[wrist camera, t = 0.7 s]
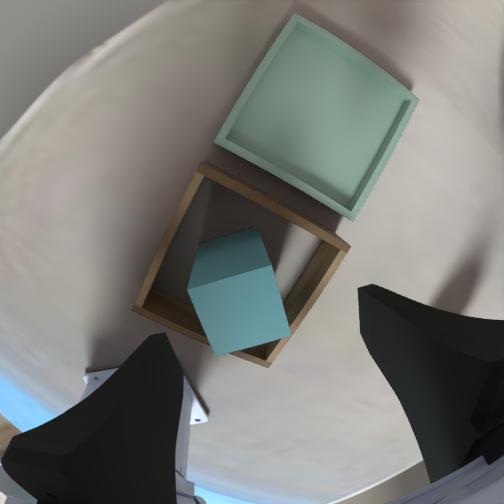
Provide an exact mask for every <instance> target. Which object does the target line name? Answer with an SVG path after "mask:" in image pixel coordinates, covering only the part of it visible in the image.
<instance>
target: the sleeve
mask: <svg viewBox="0 0 504 504" xmlns="http://www.w3.org/2000/svg"><path fill="white" fill-rule="evenodd" d="M205 176H206V177H208V178H210V179H212V180H214V181H216V182H218V183H220V184H221V185H223V186H225V187H227V188H229V189H231V190H233V191H235V192H237V193H239V194H241V195H242V196H244V197H246V198H248V199H250V200H252V201H254V202H256V203H258V204H259V205H261V206H263V207H265V208H267V209H269V210H270V211H272V212H274V213H276V214H278V215H280V216H281V217H283V218H285V219H287V220H289V221H291V222H292V223H294V224H296V225H298V226H300V227H301V228H303V229H305V230H307V231H309V232H310V233H312V234H314V235H316V236H317V237H319V238H321V239H323V242H322V243H321V245H320V246H319V248H318V250H317V251H316V253H315V255H314V256H313V258H312V259H311V261H310V263H309V264H308V266H307V267H306V269H305V271H304V272H303V274H302V275H301V277H300V279H299V280H298V282H297V283H296V285H295V286H294V288H293V290H292V291H291V293H290V294H289V296H288V297H287V299H286V300H285V302H284V303H283V307H284V311H285V314H286V318H287V321H288V325H289V329H290V332H291V336H292V335H293V334H294V332H295V331H296V329H297V328H298V326H299V325H300V324H301V322H302V321H303V319H304V318H305V316H306V315H307V313H308V312H309V311H310V309H311V308H312V306H313V305H314V303H315V302H316V300H317V299H318V297H319V296H320V294H321V293H322V291H323V290H324V288H325V287H326V285H327V284H328V282H329V281H330V279H331V277H332V276H333V274H334V273H335V271H336V270H337V268H338V267H339V265H340V263H341V262H342V260H343V259H344V257H345V255H346V254H347V252H348V251H349V249H350V247H351V246H350V245H349V244H348V243H346V242H345V241H344V240H343V239H342V238H340V237H339V236H338V235H337V234H336V233H334V232H332V231H331V230H329V229H327V228H326V227H324V226H322V225H320V224H319V223H317V222H315V221H314V220H312V219H310V218H308V217H307V216H305V215H303V214H301V213H300V212H298V211H296V210H294V209H293V208H291V207H289V206H287V205H285V204H284V203H282V202H280V201H278V200H276V199H275V198H273V197H271V196H269V195H267V194H266V193H264V192H262V191H260V190H258V189H256V188H255V187H253V186H251V185H249V184H247V183H245V182H243V181H241V180H240V179H238V178H236V177H234V176H232V175H230V174H228V173H226V172H224V171H222V170H220V169H219V168H217V167H215V166H213V165H211V164H209V163H207V162H205V161H204V162H202V163H200V165H199V167H198V169H197V171H196V172H195V174H194V176H193V178H192V180H191V182H190V184H189V186H188V188H187V190H186V192H185V194H184V196H183V198H182V200H181V202H180V204H179V206H178V208H177V210H176V212H175V214H174V216H173V218H172V220H171V222H170V225H169V227H168V229H167V231H166V233H165V235H164V237H163V239H162V242H161V244H160V246H159V248H158V250H157V253H156V255H155V257H154V259H153V262H152V264H151V266H150V268H149V271H148V273H147V275H146V278H145V280H144V282H143V285H142V287H141V289H140V292H139V294H138V297H137V299H136V302H135V304H134V306H133V309H132V311H134V312H136V313H138V314H140V315H142V316H144V317H147V318H149V319H151V320H153V321H155V322H157V323H159V324H161V325H164V326H166V327H168V328H170V329H172V330H175V331H177V332H179V333H181V334H184V335H186V336H188V337H191V338H193V339H195V340H198V341H200V342H202V343H205V344H207V345H210V343H209V340H208V338H207V336H206V333H205V331H204V329H203V327H202V324H201V322H200V320H199V317H198V315H197V313H196V310H195V308H193V307H191V306H189V305H187V304H185V303H182V302H180V301H178V300H176V299H174V298H172V297H170V296H168V295H165V294H163V293H161V292H159V291H157V290H155V289H153V288H151V287H152V285H153V283H154V280H155V278H156V276H157V274H158V272H159V269H160V267H161V265H162V263H163V261H164V258H165V256H166V254H167V252H168V250H169V248H170V246H171V244H172V241H173V239H174V237H175V235H176V233H177V231H178V229H179V227H180V225H181V223H182V221H183V219H184V217H185V215H186V213H187V211H188V209H189V207H190V205H191V203H192V201H193V199H194V197H195V195H196V193H197V191H198V189H199V187H200V185H201V183H202V182H203V180H204V178H205ZM291 336H288V337H284V338H281V339H278V340H274V341H271V342H267V343H264V344H260V345H256V346H253V347H249V348H245V349H242V350H238V351H234V352H230V353H229V354H232V355H235V356H237V357H240V358H242V359H245V360H248V361H250V362H253V363H256V364H258V365H261V366H264V367H267V368H269V367H270V365H271V364H272V363H273V361H274V360H275V358H276V357H277V356H278V354H279V353H280V352H281V350H282V349H283V347H284V346H285V345H286V343H287V342H288V341H289V339H290V338H291ZM210 346H211V345H210Z"/></svg>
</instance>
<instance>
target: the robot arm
mask: <svg viewBox="0 0 504 504" xmlns="http://www.w3.org/2000/svg"><path fill="white" fill-rule="evenodd" d="M358 302H359V319H360V334H361V336H362V338H363V340H364V342H365V345H366V347H367V349H368V351H369V353H370V355H371V356H372V358H373V359H374V361H375V362H376V364H377V366H378V367H379V369H380V370H381V372H382V373H383V375H384V376H385V378H386V379H387V381H388V383H389V384H390V386H391V387H392V389H393V390H394V392H395V394H396V395H397V397H398V399H399V401H400V403H401V405H402V407H403V409H404V411H405V413H406V416H407V418H408V420H409V422H410V425H411V427H412V430H413V432H414V435H415V437H416V440H417V442H418V445H419V448H420V451H421V453H422V456H423V459H424V462H425V465H426V469H427V472H428V475H429V479H430V482H431V484H430V485H428V486H425V487H423V488H421V489H419V490H417V491H414V492H412V493H410V494H408V495H405V496H403V497H401V498H398V499H395V500H393V501H391V502H388V503H385V504H504V320H492V319H483V318H475V317H469V316H464V315H459V314H455V313H451V312H447V311H443V310H440V309H436V308H433V307H431V306H428V305H425V304H422V303H419V302H417V301H414V300H411V299H409V298H407V297H404V296H402V295H399V294H397V293H395V292H392V291H390V290H388V289H385V288H383V287H380V286H377V285H375V284H370V285H367V286H363V287H360V288H358ZM97 377H98V378H97ZM83 379H84V381H85V382H86V384H87V387H86V389H85V391H84V393H83V395H82V398H81V400H80V402H79V403H78V404H76V405H75V406H73V407H72V408H70V409H69V410H67V411H66V412H64V413H63V414H61V415H59V416H58V417H56V418H54V419H52V420H50V421H48V422H46V423H44V424H42V425H40V426H38V427H36V428H34V429H31V430H29V431H26V432H24V433H21V434H18V435H15V436H13V438H12V439H11V441H10V443H9V445H8V447H7V449H6V451H5V453H4V455H3V457H2V459H1V464H2V466H3V469H4V470H5V471H6V473H7V474H8V475H9V476H10V477H11V478H12V479H13V480H14V481H15V482H16V483H17V484H19V485H20V486H21V487H22V488H23V489H24V490H26V491H27V492H28V493H29V494H31V495H32V496H33V497H34V498H36V499H37V500H38V501H37V504H206V502H205V500H204V499H203V498H201V497H199V496H195V495H194V485H195V483H193V482H190V481H188V480H186V473H187V459H188V446H189V434H190V425H191V424H197V423H203V422H207V421H208V415H207V413H206V412H205V410H204V408H203V407H202V405H201V403H200V402H199V400H198V398H197V396H196V395H195V393H194V391H193V389H192V388H191V386H190V384H189V382H188V381H187V379H186V377H185V375H184V373H183V370H182V368H181V366H180V364H179V362H178V360H177V357H176V355H175V353H174V351H173V349H172V346H171V344H170V342H169V340H168V337H167V335H166V333H159V334H154V335H150V336H149V337H148V338H147V339H146V340H145V341H144V342H143V343H142V344H141V345H140V346H139V347H138V348H137V349H136V350H135V351H134V352H133V353H132V354H131V356H130V357H129V358H128V359H127V360H126V361H125V362H124V363H123V364H122V365H121V366H120V367H119V368H115V369H109V370H104V371H98V372H91V373H86V374H85V375H84V376H83ZM4 504H30V503H28V502H26V501H23V500H20V499H17V498H15V497H12V496H7V498H6V501H5V503H4Z"/></svg>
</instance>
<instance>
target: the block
mask: <svg viewBox="0 0 504 504" xmlns="http://www.w3.org/2000/svg"><path fill="white" fill-rule="evenodd" d="M187 291H188V293H189V296H190V298H191V301H192V303H193V305H194V308H195V310H196V313H197V315H198V317H199V320H200V322H201V324H202V327H203V329H204V331H205V333H206V336H207V338H208V340H209V343H210V345H211V347H212V349H213V351H214V354H215V356H218V355H222V354H226V353H230V352H234V351H238V350H242V349H245V348H249V347H253V346H256V345H260V344H264V343H267V342H271V341H274V340H278V339H281V338H284V337H288V336H291V332H290V329H289V325H288V321H287V318H286V314H285V311H284V307H283V303H282V300H281V296H280V293H279V289H278V285H277V282H276V278H275V275H274V271H273V268H272V264H271V262H270V259H269V256H268V254H267V251H266V249H265V246H264V243H263V241H262V238H261V236H260V233H259V230H258V228H257V227H253V228H250V229H247V230H243V231H240V232H237V233H233V234H230V235H227V236H223V237H220V238H217V239H213V240H210V241H207V242H204V243H200V244H199V246H198V250H197V253H196V257H195V261H194V265H193V268H192V272H191V276H190V280H189V284H188V288H187Z"/></svg>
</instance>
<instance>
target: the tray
mask: <svg viewBox="0 0 504 504" xmlns="http://www.w3.org/2000/svg"><path fill="white" fill-rule="evenodd" d="M418 101H419V99H418V98H417V97H416V96H415V95H414V94H413V93H411V92H410V91H409V90H408V89H407V88H406V87H404V86H403V85H402V84H401V83H400V82H398V81H397V80H396V79H395V78H393V77H392V76H391V75H390V74H388V73H387V72H386V71H384V70H383V69H382V68H381V67H379V66H378V65H377V64H375V63H374V62H372V61H371V60H370V59H368V58H367V57H366V56H364V55H363V54H361V53H360V52H358V51H357V50H355V49H354V48H353V47H351V46H350V45H348V44H347V43H345V42H343V41H342V40H340V39H339V38H337V37H336V36H334V35H332V34H331V33H329V32H328V31H326V30H324V29H323V28H321V27H319V26H318V25H316V24H314V23H312V22H311V21H309V20H307V19H305V18H303V17H302V16H300V15H298V14H296V13H294V14H293V16H292V17H291V18H290V20H289V21H288V23H287V24H286V26H285V27H284V28H283V30H282V31H281V33H280V34H279V36H278V37H277V39H276V40H275V42H274V43H273V45H272V46H271V48H270V49H269V51H268V52H267V54H266V55H265V57H264V58H263V60H262V61H261V63H260V65H259V66H258V68H257V69H256V71H255V72H254V74H253V76H252V77H251V79H250V80H249V82H248V84H247V85H246V87H245V89H244V90H243V92H242V94H241V95H240V97H239V99H238V100H237V102H236V104H235V105H234V107H233V109H232V110H231V112H230V114H229V115H228V117H227V119H226V121H225V122H224V124H223V126H222V128H221V129H220V131H219V133H218V135H217V137H216V138H215V140H214V142H213V143H215V144H217V145H219V146H221V147H223V148H225V149H227V150H229V151H231V152H233V153H235V154H237V155H238V156H240V157H242V158H244V159H246V160H248V161H250V162H252V163H253V164H255V165H257V166H259V167H261V168H262V169H264V170H266V171H268V172H270V173H272V174H273V175H275V176H277V177H279V178H280V179H282V180H284V181H286V182H287V183H289V184H291V185H293V186H294V187H296V188H298V189H300V190H301V191H303V192H305V193H306V194H308V195H310V196H311V197H313V198H315V199H316V200H318V201H320V202H321V203H323V204H325V205H326V206H328V207H330V208H331V209H333V210H334V211H336V212H338V213H339V214H341V215H343V216H344V217H346V218H347V219H349V220H351V221H352V222H353V221H354V220H355V218H356V216H357V215H358V213H359V211H360V210H361V208H362V206H363V204H364V203H365V201H366V199H367V197H368V196H369V194H370V192H371V190H372V189H373V187H374V185H375V183H376V182H377V180H378V178H379V176H380V174H381V173H382V171H383V169H384V167H385V165H386V163H387V162H388V160H389V158H390V156H391V154H392V152H393V150H394V149H395V147H396V145H397V143H398V141H399V139H400V137H401V135H402V133H403V131H404V129H405V127H406V126H407V124H408V122H409V120H410V118H411V116H412V114H413V112H414V110H415V108H416V106H417V103H418Z"/></svg>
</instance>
